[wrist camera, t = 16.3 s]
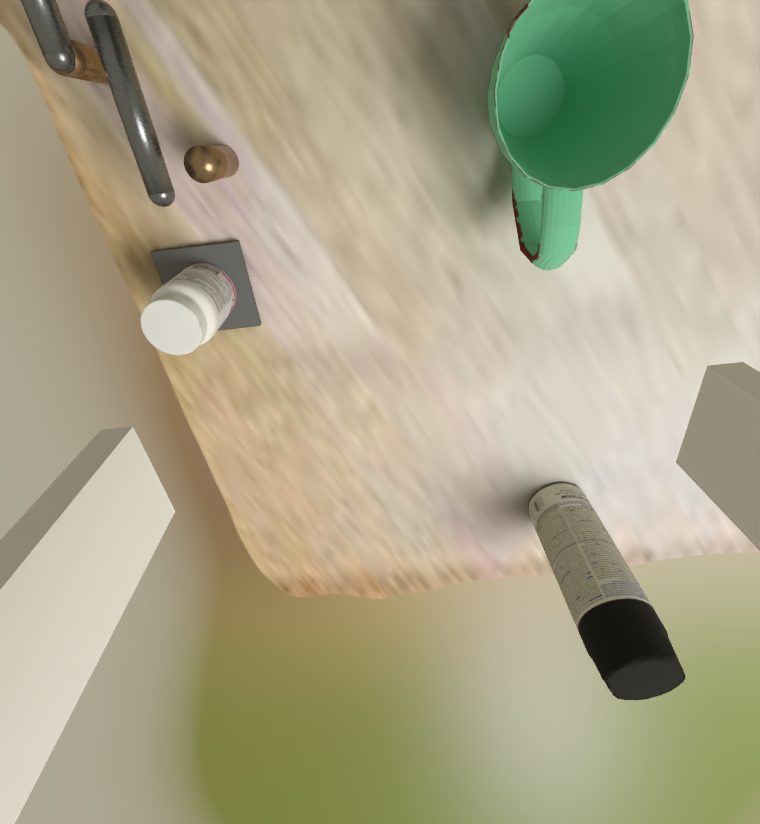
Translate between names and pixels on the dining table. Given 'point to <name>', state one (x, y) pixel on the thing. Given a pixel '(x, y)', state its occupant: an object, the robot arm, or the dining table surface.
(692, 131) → the dining table surface
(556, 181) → the mug
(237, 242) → the pad
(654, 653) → the spray can
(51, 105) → the dining table surface
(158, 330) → the pill bottle
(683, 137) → the dining table surface
